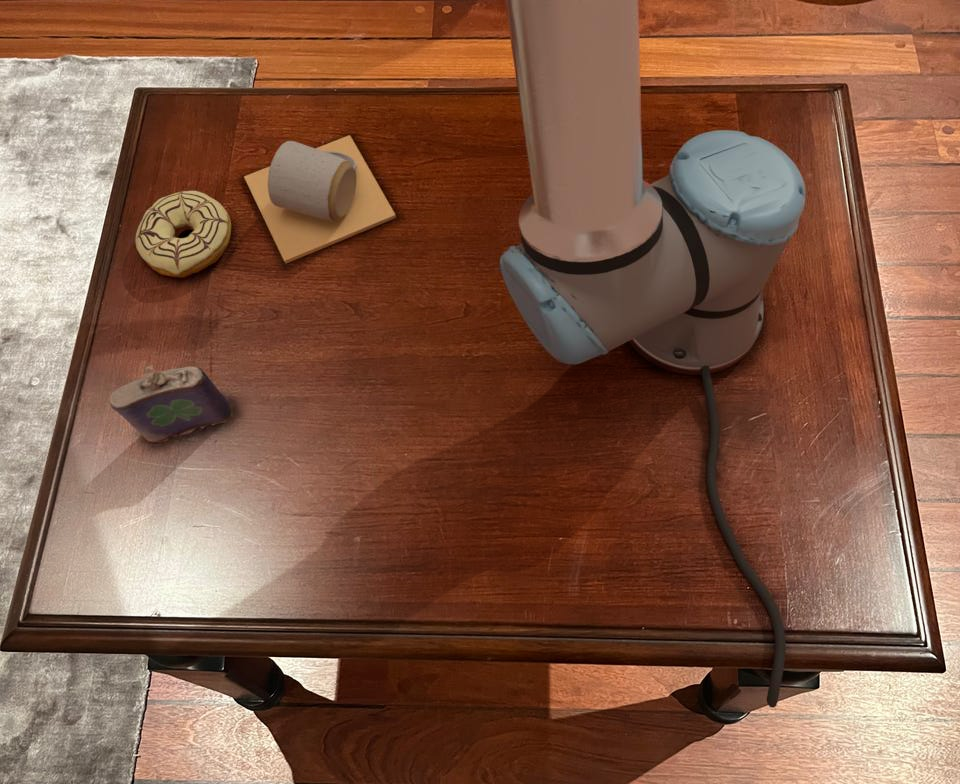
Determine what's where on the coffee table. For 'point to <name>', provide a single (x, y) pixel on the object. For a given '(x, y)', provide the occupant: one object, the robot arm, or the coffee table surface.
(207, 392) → the flask
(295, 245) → the cork mat
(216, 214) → the decorated donut
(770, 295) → the coffee table surface
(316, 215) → the ceramic mug
